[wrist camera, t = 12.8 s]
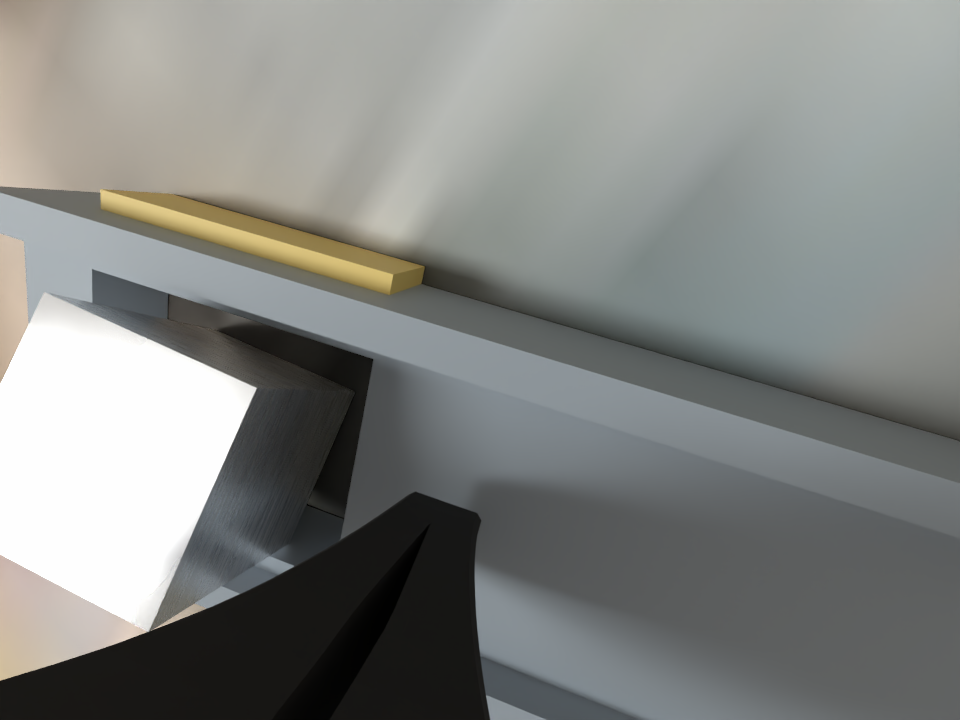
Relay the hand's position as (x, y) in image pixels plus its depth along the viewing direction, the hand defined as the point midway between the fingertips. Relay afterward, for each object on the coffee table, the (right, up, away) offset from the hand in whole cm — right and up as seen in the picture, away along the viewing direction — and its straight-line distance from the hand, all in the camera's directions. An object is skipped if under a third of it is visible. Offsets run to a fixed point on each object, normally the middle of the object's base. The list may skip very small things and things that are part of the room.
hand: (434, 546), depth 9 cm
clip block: (-5, +2, +3) cm, 6 cm away
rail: (+2, 0, +3) cm, 3 cm away
